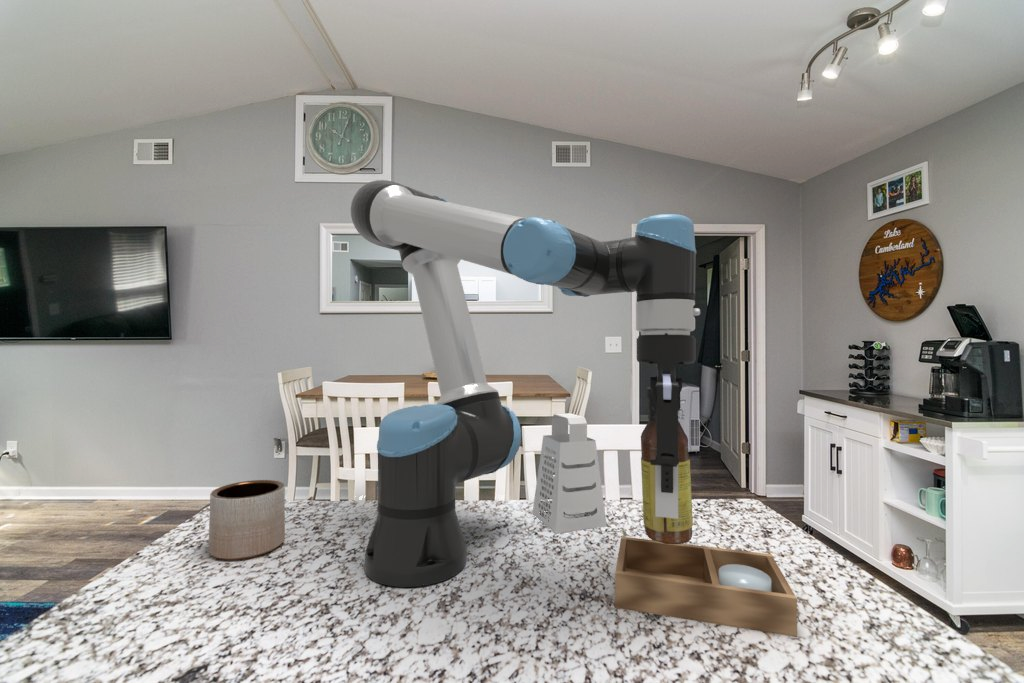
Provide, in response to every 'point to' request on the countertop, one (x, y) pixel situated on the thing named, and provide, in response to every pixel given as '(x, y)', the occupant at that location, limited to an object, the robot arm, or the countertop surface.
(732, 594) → the caddy
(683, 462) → the sauce bottle
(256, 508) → the planter
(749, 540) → the countertop surface
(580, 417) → the grater
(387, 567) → the robot arm
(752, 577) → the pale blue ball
